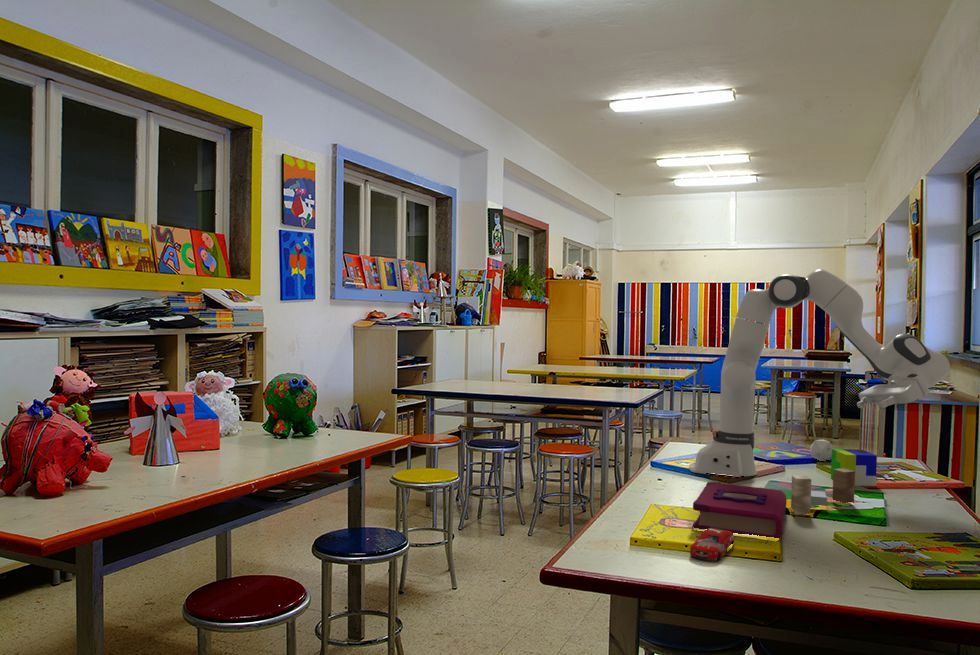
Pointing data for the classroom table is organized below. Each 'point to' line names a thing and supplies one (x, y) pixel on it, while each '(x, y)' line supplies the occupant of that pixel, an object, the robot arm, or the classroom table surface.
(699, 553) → the race car
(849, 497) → the walnut block
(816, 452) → the grey rounded lump
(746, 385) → the robot arm
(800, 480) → the maple block
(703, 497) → the book
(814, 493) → the slate block
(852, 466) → the puzzle toy
